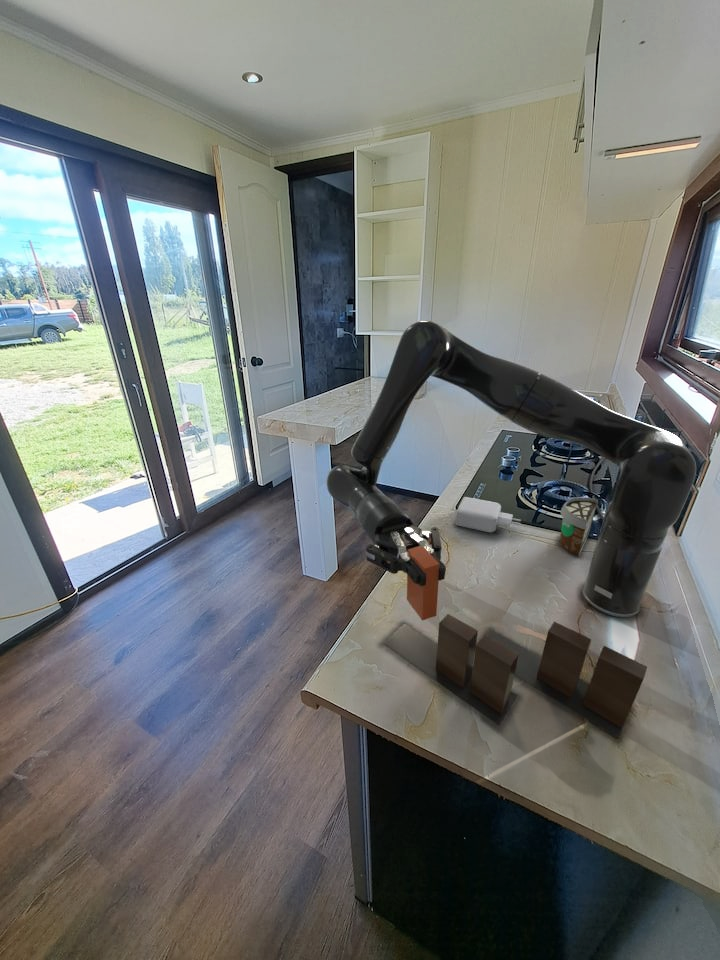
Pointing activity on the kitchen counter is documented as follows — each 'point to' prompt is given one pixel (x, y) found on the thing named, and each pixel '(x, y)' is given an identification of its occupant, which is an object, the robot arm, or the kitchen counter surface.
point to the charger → (482, 515)
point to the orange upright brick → (425, 595)
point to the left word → (462, 664)
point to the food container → (576, 523)
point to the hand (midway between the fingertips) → (433, 577)
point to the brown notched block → (561, 671)
